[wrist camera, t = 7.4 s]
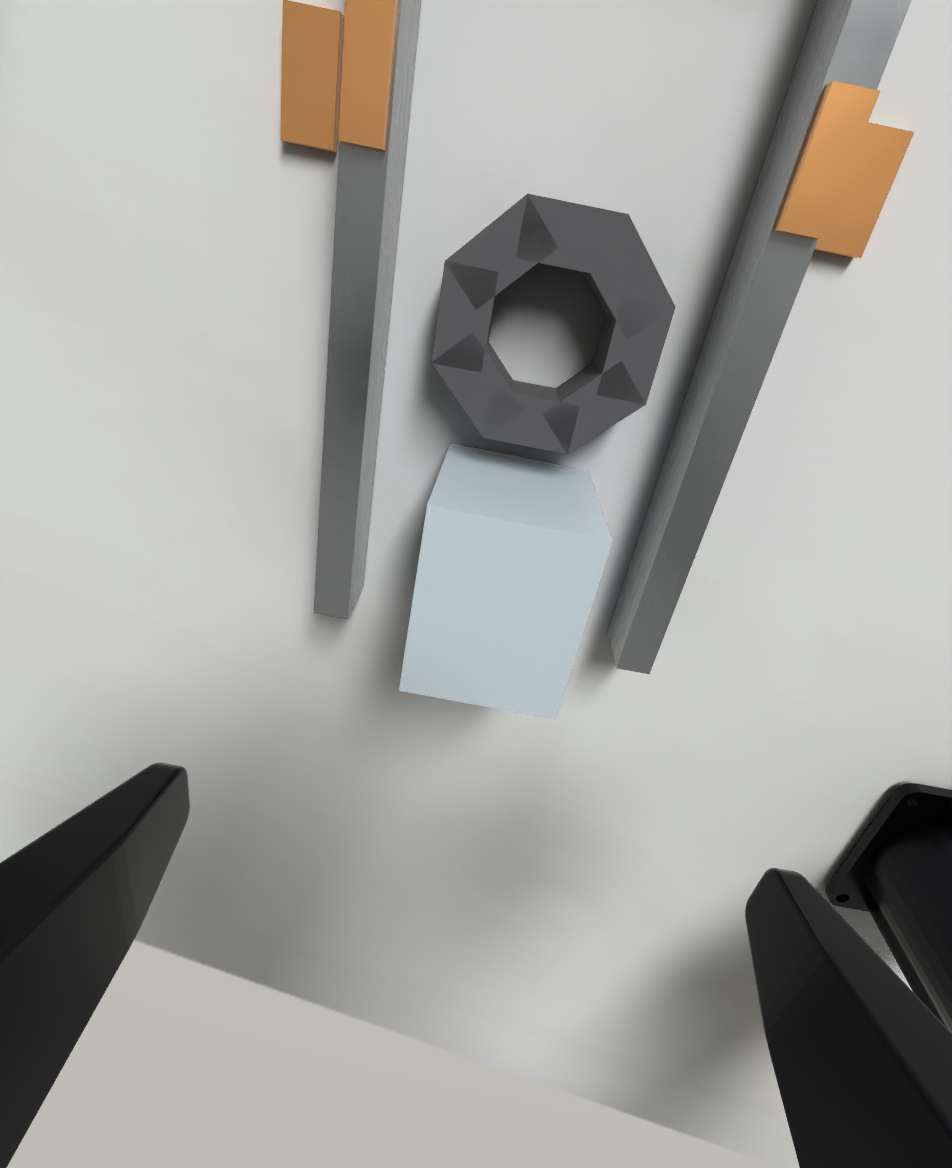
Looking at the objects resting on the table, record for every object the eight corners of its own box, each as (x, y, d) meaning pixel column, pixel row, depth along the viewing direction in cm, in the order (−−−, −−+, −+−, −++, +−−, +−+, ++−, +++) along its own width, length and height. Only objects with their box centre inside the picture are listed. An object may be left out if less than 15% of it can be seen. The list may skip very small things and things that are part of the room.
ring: (616, 446, 17) (627, 465, 15) (431, 410, 17) (422, 426, 15) (678, 232, 14) (699, 228, 13) (462, 188, 14) (455, 179, 13)
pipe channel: (691, 647, 20) (711, 691, 18) (276, 570, 19) (247, 607, 17) (1060, -232, 11) (1187, -347, 9) (295, -405, 10) (241, -570, 8)
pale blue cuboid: (547, 616, 20) (555, 719, 15) (426, 593, 19) (398, 690, 15) (588, 469, 17) (612, 541, 13) (450, 442, 17) (427, 505, 13)
